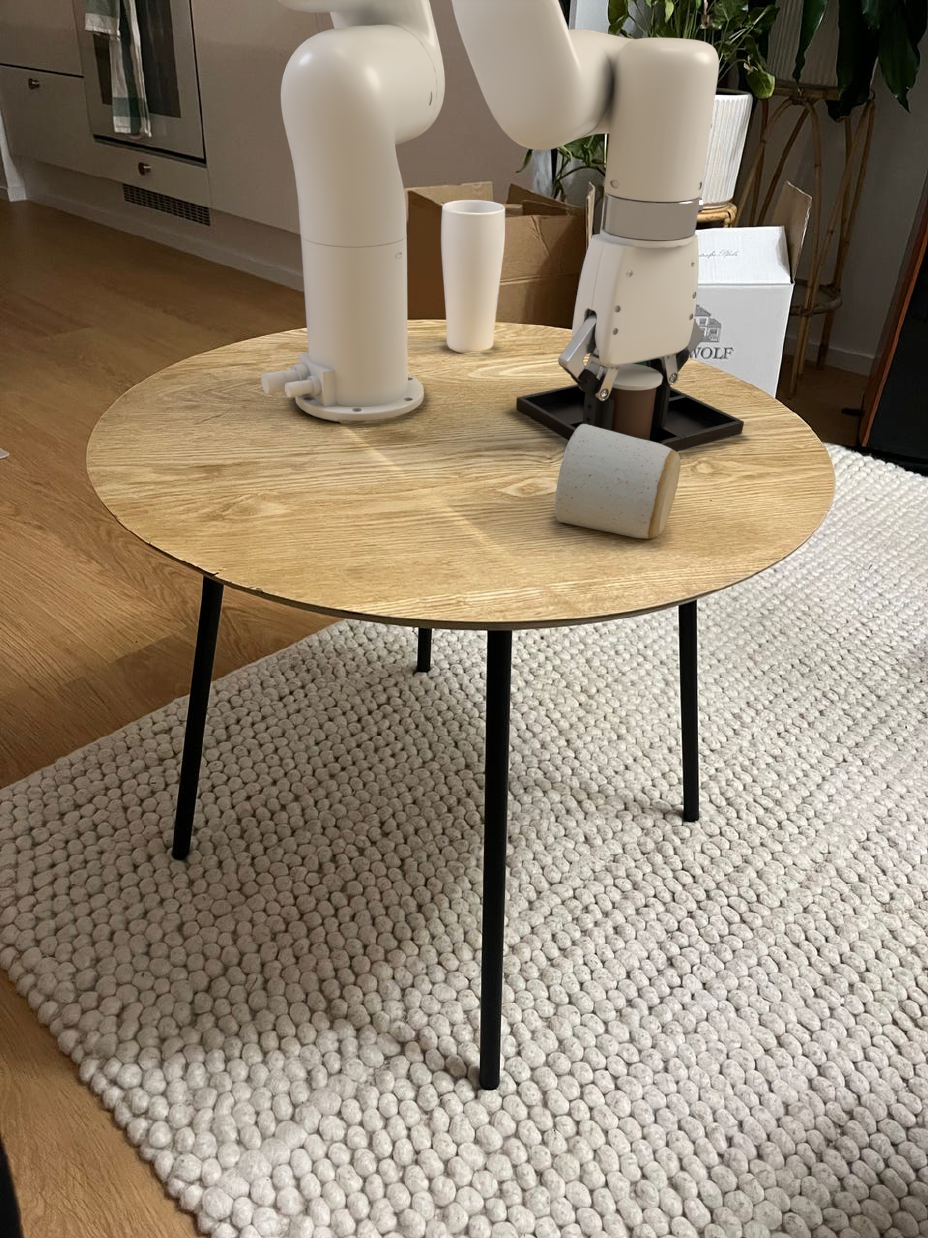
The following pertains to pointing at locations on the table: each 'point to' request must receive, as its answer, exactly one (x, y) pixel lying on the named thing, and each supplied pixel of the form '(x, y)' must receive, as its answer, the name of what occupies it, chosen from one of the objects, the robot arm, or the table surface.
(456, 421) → the table surface
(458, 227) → the drinking glass
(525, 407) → the tray
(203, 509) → the table surface
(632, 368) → the cylinder
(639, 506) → the ceramic mug
